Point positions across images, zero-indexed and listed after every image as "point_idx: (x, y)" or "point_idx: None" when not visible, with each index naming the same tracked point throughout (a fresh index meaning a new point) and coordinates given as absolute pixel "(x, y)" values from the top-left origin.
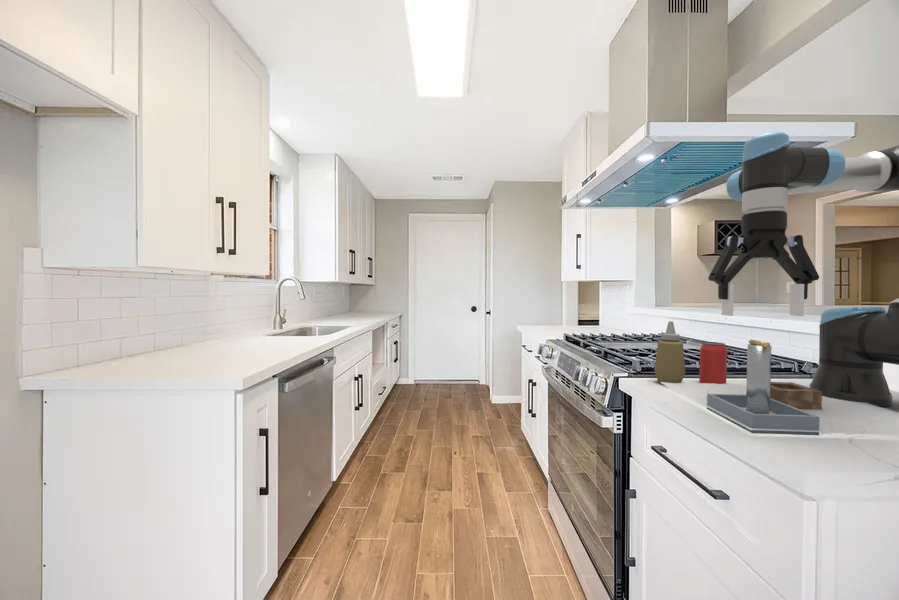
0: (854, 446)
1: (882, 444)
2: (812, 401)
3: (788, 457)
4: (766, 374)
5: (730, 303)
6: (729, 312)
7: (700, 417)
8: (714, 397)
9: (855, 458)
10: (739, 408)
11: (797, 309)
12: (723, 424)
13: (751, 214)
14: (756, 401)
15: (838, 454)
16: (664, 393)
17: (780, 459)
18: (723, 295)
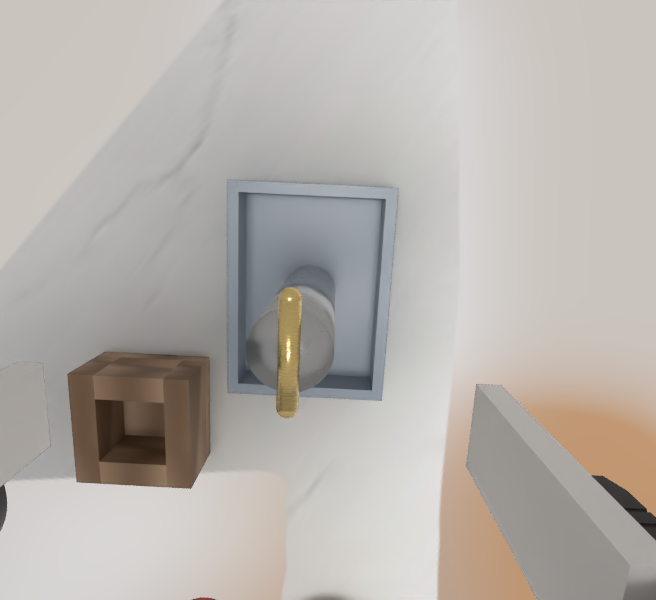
0: (213, 110)
1: (137, 128)
2: (109, 365)
3: (423, 27)
4: (297, 285)
5: (537, 427)
6: (510, 395)
7: (440, 309)
8: (384, 364)
9: (274, 31)
10: (391, 249)
11: (12, 399)
12: (417, 255)
13: None
14: (325, 278)
15: (293, 54)
16: (404, 524)
17: (451, 13)
18: (622, 500)
